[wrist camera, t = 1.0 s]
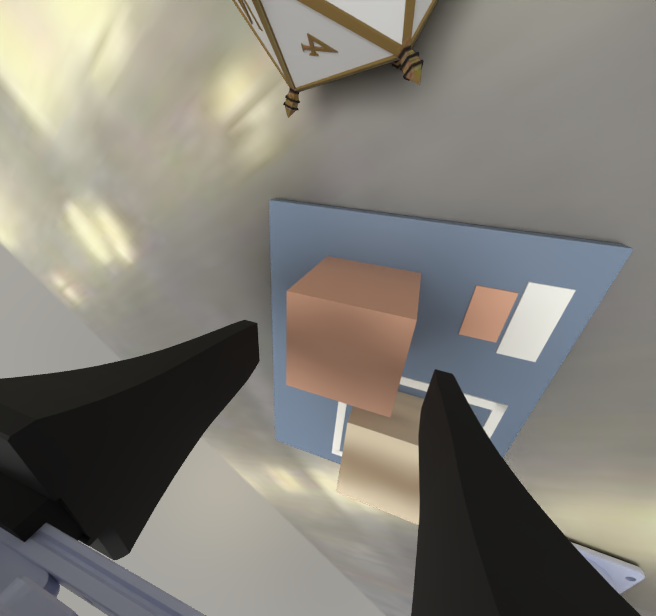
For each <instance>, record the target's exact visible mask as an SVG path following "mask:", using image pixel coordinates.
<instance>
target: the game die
mask: <svg viewBox="0 0 656 616" xmlns="http://www.w3.org/2000/svg"><path fill="white" fill-rule="evenodd" d="M233 2H234V3H235V5H236V6H237V8H238V9H239V11H240V13H241V14H242V16H243V17H244V19H245V20H246V22H247V23H248V25H249V26H250V28H251V29H252V31H253V32H254V34H255V35H256V37H257V38H258V40H259V41H260V43H261V45H262V46H263V48H264V49H265V51H266V52H267V54H268V55H269V57H270V58H271V60H272V61H273V63H274V64H275V66H276V67H277V69H278V70H279V72H280V74H281V75H282V77H283V78H284V80H285V81H286V83H287V84H288V86H289V87H290V91H289V93H288V94H287V95H286V97H285V98H286V102H284V104H283V105H285V108H286V112H287V116H288V118H289V117H290V116H291V115H292V114H293V113H294V112H295V111H296V110H298V108H297V106H298V103H300V101H299V97H298V94H299V92H301V91H304V90H307V89H310V88H313V87H316V86H319V85H322V84H325V83H328V82H332V81H335V80H338V79H341V78H344V77H347V76H350V75H353V74H356V73H359V72H363V71H366V70H369V69H372V68H375V67H378V66H381V65H384V64H387V63H390V62H393V64H392V65H393V66H394V67H396V68H397V69H398V68H400V70H401V71H403V73H404V75H403V78H404V79H406V80H408V81H409V80H412V81H413V82H415V83H417V84H419V85H420V77H421V69H422V65H423V62H424V61H423V60H421V61H420V59H419V52H416V53H415V52H414V51H413V50H412V47H413V45H414V43H415V41H416V40H417V38H418V36H419V34H420V32H421V31H422V29H423V27H424V25H425V23H426V22H427V20H428V18H429V16H430V14H431V13H432V11H433V9H434V7H435V5H436V4H437V2H438V0H233Z"/></svg>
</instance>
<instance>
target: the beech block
mask: <svg viewBox="0 0 656 616" xmlns="http://www.w3.org/2000/svg"><path fill="white" fill-rule="evenodd" d="M423 401H424V399H423V398H419V397H416V396H413V395H409V394H406V393H402V392H399V391H397V395H396V399H395V402H394V406H393V410H392V413H391V417H386V416H383V415H380V414H377V413H374V412H371V411H367V410H364V409H361V408H358V407H355V406H353V407H352V410H351V413H350V416H349V419H348V422H347V428H346V434H345V440H344V447H343V453H342V459H341V465H340V471H339V477H338V483H337V489H336V492H337V493H340V494H342V495H345V496H347V497H350V498H352V499H355V500H357V501H360V502H362V503H365V504H367V505H370V506H372V507H375V508H377V509H380V510H382V511H385V512H387V513H390V514H392V515H395V516H397V517H400V518H402V519H405V520H407V521H410V522H412V523H415V524H417V525H419V507H420V495H419V447H418V433H419V423H420V413H421V407H422V404H423ZM474 414H475V413H474Z"/></svg>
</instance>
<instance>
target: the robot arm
mask: <svg viewBox="0 0 656 616" xmlns="http://www.w3.org/2000/svg"><path fill="white" fill-rule="evenodd" d="M258 363H259V344H258V327H257V323H255V322H251V321H247V320H243V321H239V322H237V323H234V324H231V325H228V326H226V327H223V328H221V329H218V330H216V331H213V332H210V333H208V334H205V335H203V336H200V337H198V338H195V339H192V340H189V341H186V342H184V343H181V344H178V345H175V346H172V347H169V348H166V349H163V350H160V351H157V352H153V353H150V354H146V355H143V356H139V357H135V358H131V359H127V360H122V361H118V362H114V363H109V364H104V365H100V366H94V367H89V368H83V369H77V370H71V371H64V372H58V373H50V374H42V375H33V376H24V377H15V378H4V379H0V616H78V615H77V614H76V613H75V612H74V611H73V610H72V609H70V608H69V607H68V606H66V605H65V604H64V603H62V602H61V601H59V600H58V599H57V595H58V592H59V588H60V585H59V584H61V585H62V586H64V587H65V588H67V589H68V590H70V591H71V592H73V593H74V594H76V595H77V596H79V597H81V598H82V599H84V600H85V601H87V602H88V603H90V604H91V605H93V606H95V607H96V608H98V609H99V610H101V611H102V612H104V613H105V614H107V615H108V616H206V615H204V614H202V613H201V612H199V611H197V610H195V609H194V608H192V607H190V606H188V605H187V604H185V603H183V602H182V601H180V600H178V599H176V598H175V597H173V596H171V595H169V594H168V593H166V592H165V591H163V590H161V589H159V588H158V587H156V586H154V585H152V584H151V583H149V582H147V581H145V580H144V579H142V578H140V577H139V576H137V575H135V574H134V573H132V572H130V571H128V570H127V569H125V568H123V567H122V566H120V565H118V564H116V563H115V562H113V561H111V560H110V559H108V558H106V557H104V556H103V555H101V554H99V553H98V552H96V551H94V550H92V549H91V548H89V547H87V546H86V545H88V546H91V547H92V548H94V549H95V550H97V551H99V552H101V553H103V554H104V555H106V556H107V557H109V558H111V559H113V560H118V559H120V558H122V557H124V556H126V555H127V554H129V553H130V551H131V549H132V548H133V546H134V544H135V542H136V540H137V539H138V537H139V535H140V533H141V531H142V530H143V528H144V526H145V525H146V523H147V521H148V519H149V517H150V515H151V514H152V512H153V511H154V508H155V507H156V505H157V504H158V502H159V500H160V499H161V497H162V496H163V494H164V492H165V491H166V489H167V487H168V486H169V484H170V483H171V481H172V479H173V478H174V476H175V475H176V473H177V472H178V470H179V469H180V467H181V466H182V464H183V462H184V461H185V459H186V458H187V456H188V455H189V453H190V452H191V451H192V449H193V448H194V446H195V445H196V443H197V442H198V440H199V439H200V438H201V436H202V435H203V433H204V432H205V431H206V429H207V428H208V427H209V426H210V424H211V423H212V422H213V421H214V419H215V418H216V417H217V416H218V415H219V414H220V412H221V411H222V410H223V409H224V408H225V406H226V405H227V404H228V403H229V402H230V401H231V399H232V398H233V397H234V396H235V395H236V393H237V392H238V391H239V390H240V389H241V387H242V386H243V385H244V384H245V383H246V381H247V380H248V379H249V377H250V376H251V374H252V373H253V371H254V369H255V368H256V366H257V364H258ZM418 447H419V495H420V507H419V528H418V542H417V556H416V568H415V580H414V592H413V603H412V614H411V616H641V615H640V614H639V613H638V612H637V611H636V610H635V609H634V608H633V607H632V606H631V605H630V604H629V603H628V602H627V601H626V600H625V599H624V598H623V597H622V596H621V595H620V594H621V593H622V592H624V591H626V590H627V589H629V588H630V587H632V586H633V585H635V584H637V583H638V582H640V581H641V580H643V579H644V578H645V575H644V573H643V571H642V569H640V568H639V567H637V566H635V565H632V564H630V563H627V562H624V561H621V560H619V559H616V558H613V557H611V556H608V555H605V554H602V553H600V552H597V551H594V550H591V549H589V548H586V547H583V546H581V545H578V544H575V543H572V542H570V541H569V540H568V539H567V538H566V536H565V535H564V534H563V533H562V532H561V531H560V529H559V528H558V527H557V526H556V525H555V524H554V523H553V521H552V520H551V519H550V518H549V517H548V516H547V514H546V513H545V512H544V511H543V510H542V509H541V507H540V506H539V505H538V504H537V502H536V501H535V500H534V499H533V498H532V496H531V495H530V494H529V493H528V491H527V490H526V489H525V488H524V486H523V485H522V484H521V482H520V481H519V480H518V478H517V477H516V476H515V474H514V473H513V472H512V470H511V469H510V468H509V466H508V465H507V464H506V462H505V461H504V459H503V458H502V456H501V455H500V454H499V452H498V451H497V449H496V448H495V446H494V445H493V443H492V442H491V440H490V438H489V437H488V435H487V434H486V432H485V430H484V429H483V427H482V425H481V424H480V422H479V420H478V419H477V417H476V415H475V414H474V412H473V410H472V408H471V407H470V405H469V403H468V401H467V399H466V398H465V396H464V394H463V392H462V390H461V388H460V386H459V384H458V382H457V380H456V378H455V376H454V375H453V374H452V373H448V372H444V371H440V370H437V369H435V370H434V372H433V375H432V378H431V381H430V384H429V387H428V390H427V393H426V396H425V399H424V401H423V404H422V407H421V413H420V423H419V433H418ZM78 540H79V541H81V542H83V543H84V544H86V545H84V544H82V543H81V542H79V541H78Z"/></svg>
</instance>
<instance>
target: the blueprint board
mask: <svg viewBox="0 0 656 616" xmlns="http://www.w3.org/2000/svg"><path fill="white" fill-rule="evenodd" d="M269 218H270V256H271V295H272V333H273V371H274V410H275V440H277V441H279V442H282V443H285V444H287V445H290V446H293V447H295V448H298V449H301V450H303V451H306V452H309V453H312V454H314V455H317V456H320V457H322V458H325V459H328V460H330V461H333V462H336V463H338V464H341V459H342V453H343V447H344V440H345V434H346V428H347V422H348V419H349V416H350V413H351V410H352V407H353V406H351V405H348V404H345V403H342V402H339V401H336V400H332V399H329V398H326V397H323V396H320V395H316V394H313V393H310V392H307V391H304V390H301V389H297V388H294V387H291V386H288V385H286V321H287V290H288V289H290V288H291V287H292V286H293V285H294V284H295V283H297V282H298V281H299V280H300V279H301V278H302V277H304V276H305V275H306V274H307V273H308V272H309V271H311V270H312V269H313V268H314V267H315V266H316V265H318V264H319V263H320V262H321V261H322V260H323V259H325V258H326V257H327V256H329V257H335V258H340V259H346V260H351V261H357V262H362V263H368V264H374V265H379V266H385V267H390V268H396V269H401V270H407V271H413V272H418V273H421V281H420V292H419V303H418V313H417V321H416V325H415V329H414V332H413V336H412V340H411V343H410V347H409V351H408V354H407V358H406V362H405V366H404V369H403V373H402V377H401V380H400V384H399V388H398V391H399V392H402V393H406V394H409V395H413V396H416V397H419V398H423V399H425V396H426V393H427V390H428V387H429V384H430V381H431V378H432V375H433V372H434V370H435V369H437V370H440V371H444V372H448V373H452V374H453V375H454V376H455V378H456V380H457V382H458V384H459V386H460V388H461V390H462V392H463V394H464V396H465V398H466V399H467V401H468V403H469V405H470V407H471V408H472V410H473V412H474V413H475V415H476V417H477V419H478V420H479V422H480V424H481V425H482V427H483V429H484V430H485V432H486V434H487V435H488V437H489V438H490V440H491V442H492V443H493V445H494V446H495V448H496V449H497V451H498V452H499V454H500V455H501V456H502V458H503V456H504V455H505V453H506V452H507V450H508V448H509V447H510V445H511V444H512V442H513V440H514V439H515V437H516V436H517V434H518V432H519V431H520V429H521V428H522V426H523V424H524V423H525V421H526V420H527V418H528V416H529V415H530V413H531V412H532V410H533V408H534V407H535V405H536V404H537V402H538V400H539V399H540V397H541V396H542V394H543V393H544V391H545V389H546V388H547V386H548V385H549V383H550V381H551V380H552V378H553V377H554V375H555V373H556V372H557V370H558V369H559V367H560V365H561V364H562V362H563V361H564V359H565V357H566V356H567V354H568V353H569V351H570V349H571V348H572V346H573V345H574V343H575V341H576V340H577V338H578V337H579V335H580V333H581V332H582V330H583V329H584V327H585V325H586V324H587V322H588V321H589V319H590V317H591V316H592V314H593V313H594V311H595V310H596V308H597V306H598V305H599V303H600V302H601V300H602V298H603V297H604V295H605V294H606V292H607V290H608V289H609V287H610V286H611V284H612V282H613V281H614V279H615V278H616V276H617V274H618V273H619V271H620V270H621V268H622V266H623V265H624V263H625V262H626V260H627V258H628V257H629V255H630V254H631V252H632V250H633V248H630V247H628V246H625V245H623V244H618V243H611V242H603V241H596V240H588V239H580V238H573V237H565V236H557V235H550V234H542V233H535V232H527V231H519V230H512V229H504V228H497V227H489V226H481V225H474V224H466V223H459V222H451V221H443V220H436V219H428V218H420V217H413V216H405V215H398V214H390V213H382V212H375V211H367V210H360V209H352V208H344V207H337V206H329V205H321V204H314V203H306V202H299V201H291V200H283V199H271V200H269Z"/></svg>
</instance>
